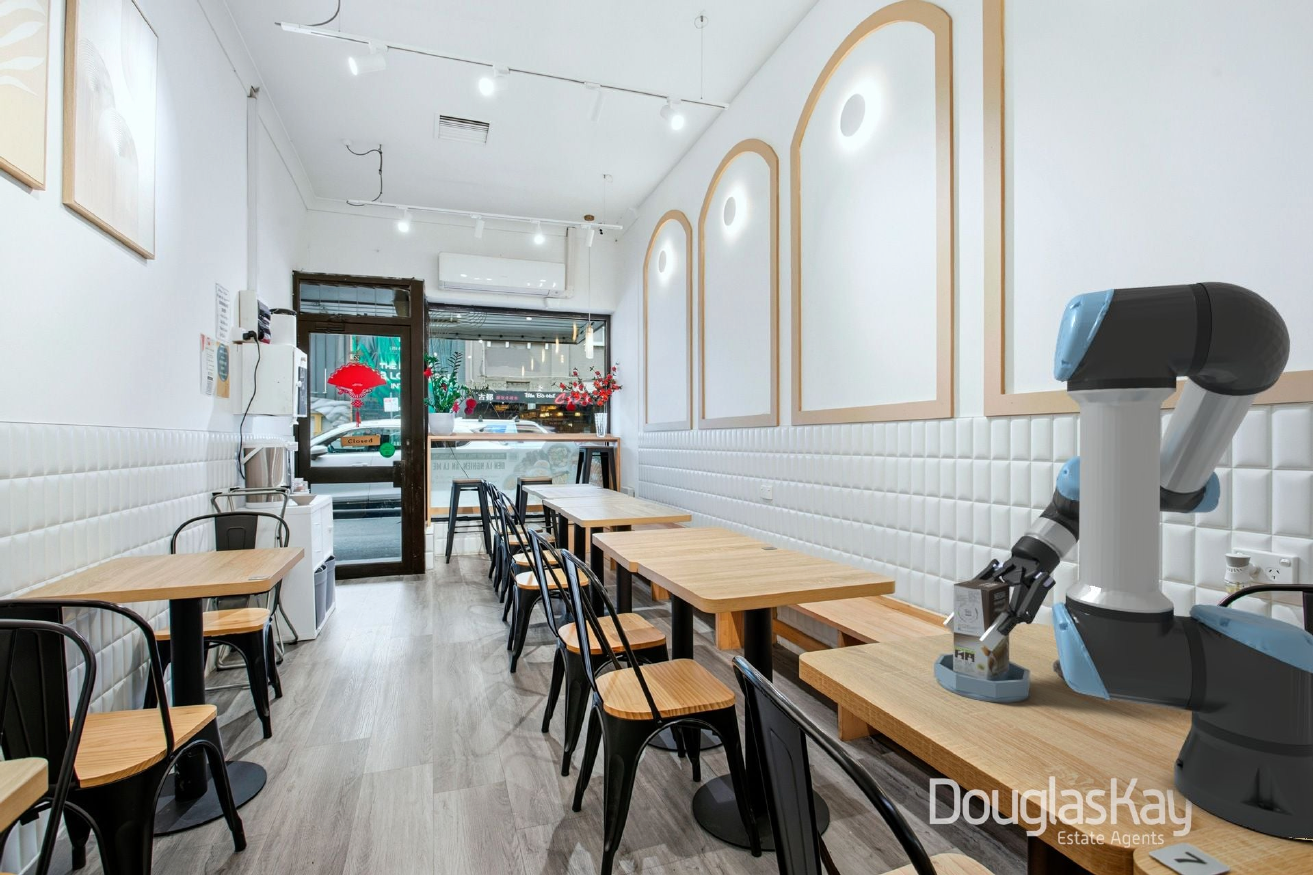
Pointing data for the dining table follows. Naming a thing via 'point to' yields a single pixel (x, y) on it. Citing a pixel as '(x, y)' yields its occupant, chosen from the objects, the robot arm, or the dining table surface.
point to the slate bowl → (984, 682)
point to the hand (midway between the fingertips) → (966, 636)
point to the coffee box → (979, 628)
